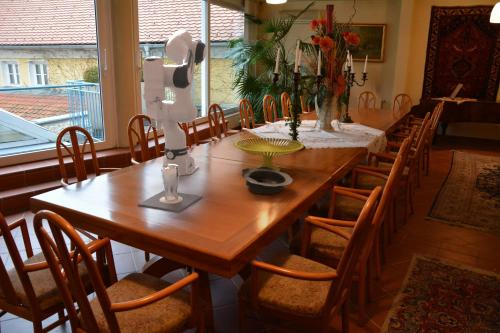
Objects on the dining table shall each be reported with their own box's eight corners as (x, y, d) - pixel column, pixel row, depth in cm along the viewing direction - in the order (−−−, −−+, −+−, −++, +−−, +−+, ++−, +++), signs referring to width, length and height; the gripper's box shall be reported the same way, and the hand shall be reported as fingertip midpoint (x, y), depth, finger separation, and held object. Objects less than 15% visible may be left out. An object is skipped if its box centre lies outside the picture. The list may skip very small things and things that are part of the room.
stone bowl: (238, 181, 203) (240, 164, 201) (286, 185, 205) (288, 168, 203) (240, 197, 179) (242, 177, 177) (295, 200, 181) (297, 181, 179)
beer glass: (182, 197, 176) (181, 164, 172) (175, 202, 169) (174, 168, 166) (167, 195, 178) (166, 163, 174) (160, 201, 171) (159, 167, 167)
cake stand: (222, 175, 215) (222, 148, 211) (245, 158, 252) (245, 135, 248) (295, 183, 203) (297, 154, 200) (308, 164, 241) (309, 140, 237)
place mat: (164, 191, 186) (164, 189, 186) (202, 197, 179) (202, 195, 179) (138, 205, 168) (138, 203, 168) (179, 212, 161) (179, 210, 161)
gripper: (168, 98, 160) (169, 132, 163) (156, 94, 178) (158, 124, 181) (152, 98, 157) (154, 133, 161) (142, 94, 175) (144, 125, 178)
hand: (156, 128), depth 171 cm, fingers open, 8 cm apart
